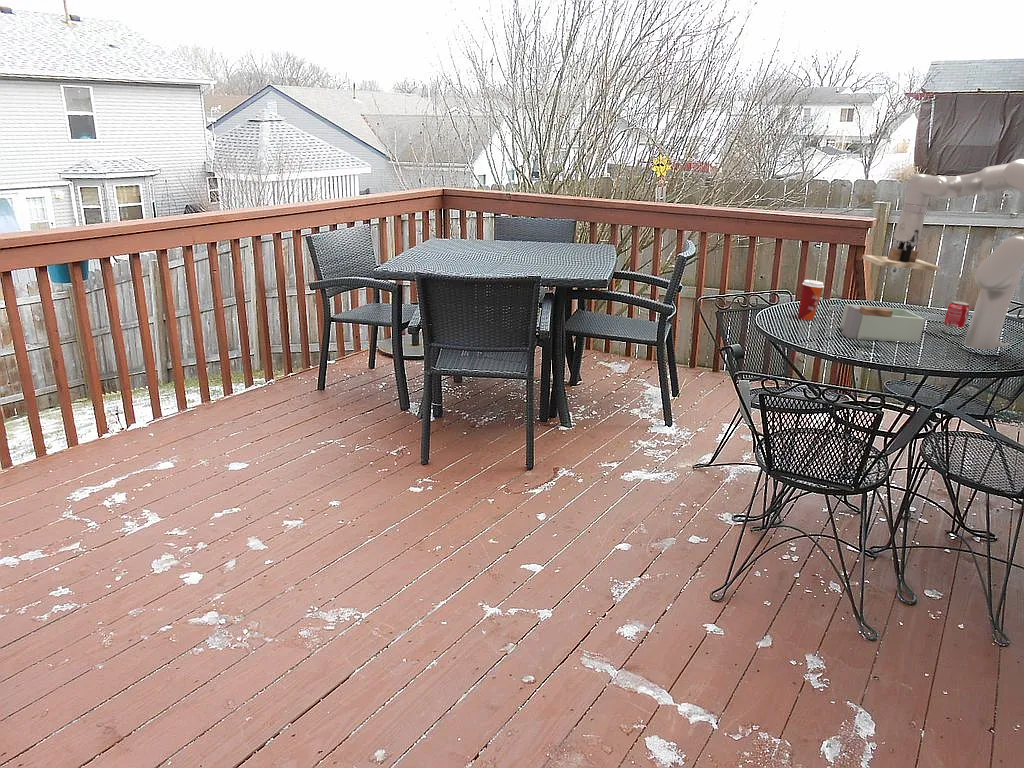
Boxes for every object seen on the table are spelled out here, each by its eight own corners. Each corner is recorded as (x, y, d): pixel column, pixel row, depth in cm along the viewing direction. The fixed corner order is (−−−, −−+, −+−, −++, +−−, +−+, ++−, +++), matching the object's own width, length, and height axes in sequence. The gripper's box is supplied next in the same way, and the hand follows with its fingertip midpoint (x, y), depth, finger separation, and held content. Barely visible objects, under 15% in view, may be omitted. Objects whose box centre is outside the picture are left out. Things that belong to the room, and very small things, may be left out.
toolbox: (898, 333, 280) (905, 305, 277) (918, 344, 267) (926, 314, 263) (831, 327, 279) (838, 299, 275) (848, 338, 265) (855, 308, 262)
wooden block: (885, 314, 257) (886, 308, 256) (891, 317, 253) (892, 311, 253) (859, 312, 257) (860, 306, 256) (864, 315, 253) (866, 309, 252)
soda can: (957, 332, 290) (966, 301, 286) (965, 337, 284) (975, 305, 280) (937, 330, 291) (946, 299, 287) (945, 335, 284) (955, 303, 280)
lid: (918, 263, 289) (922, 249, 288) (939, 271, 276) (943, 255, 274) (862, 258, 288) (865, 243, 286) (880, 265, 275) (884, 250, 273)
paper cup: (812, 322, 284) (821, 284, 279) (792, 317, 288) (800, 280, 284) (819, 319, 290) (827, 282, 285) (798, 314, 294) (806, 278, 290)
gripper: (893, 206, 283) (880, 255, 289) (916, 211, 268) (902, 263, 274) (912, 207, 284) (899, 257, 290) (937, 213, 268) (923, 265, 274)
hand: (901, 260), depth 282 cm, fingers closed on lid, 3 cm apart
